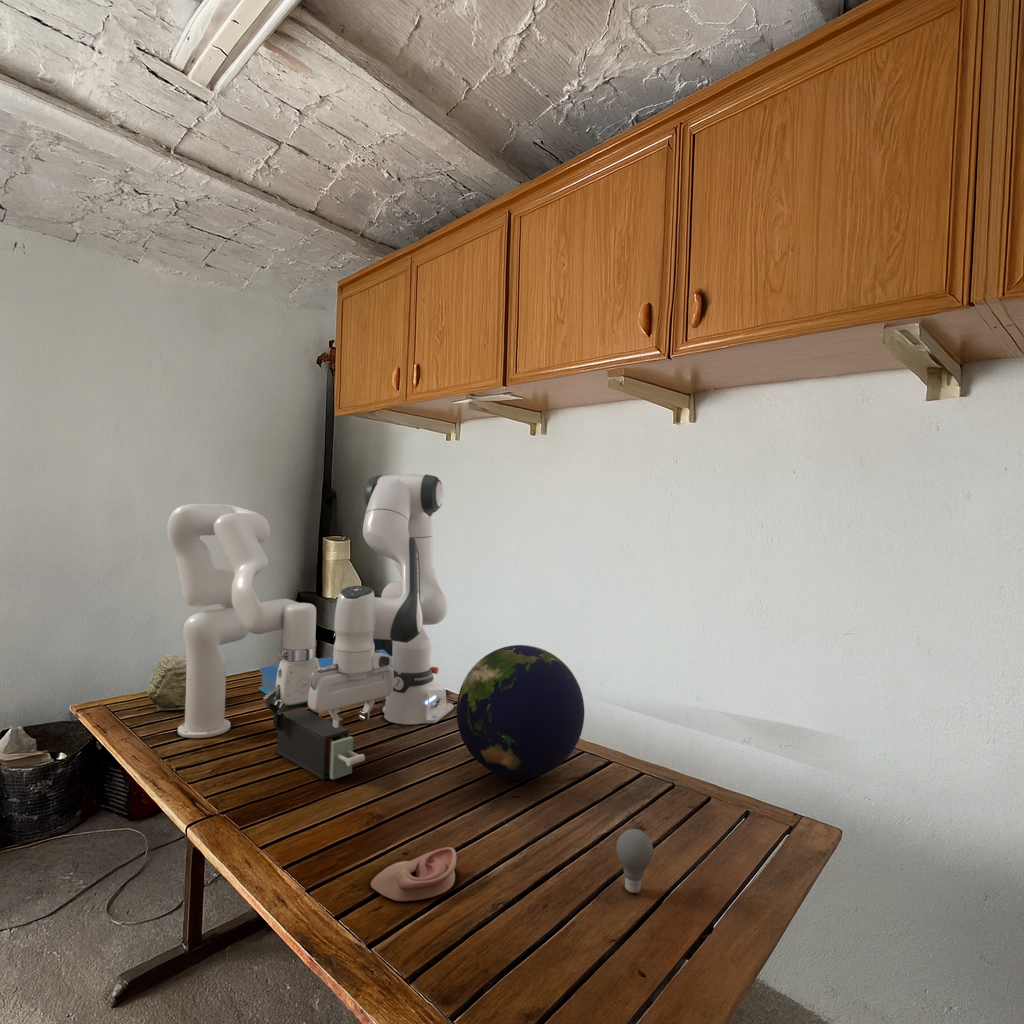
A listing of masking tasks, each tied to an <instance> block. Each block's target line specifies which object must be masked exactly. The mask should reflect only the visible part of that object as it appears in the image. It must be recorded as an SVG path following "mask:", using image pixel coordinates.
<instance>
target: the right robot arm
mask: <svg viewBox="0 0 1024 1024" xmlns="http://www.w3.org/2000/svg"><path fill="white" fill-rule="evenodd" d="M444 494H445V491H444V487H443V484H442V481H441V480H440V479H439V477H438V476H436V475H431V474H418V473H417V474H416V473H402V474H388V475H382V474H380V475H375V476H372V477H370V478H369V479H367V481H366V482H365V483H364V486H363V502H364V505H365V507H366V511H365V515H364V518H363V519H364V520H363V523H362V524H363V525H362V536H363V539H364V542H365V543H366V544H367V545H368V547H370V548H371V550H373V551H374V552H376V553H377V554H379V555H381V556H383V557H386V558H388V559H390V560H393V562H394V565H395V567H396V569H397V570H398V572H399V575H400V578H401V580H398V581H393V582H389V583H388V584H387V585H386V586H385V587H384V588H383V589H382V592H381V595H380V596H381V597H377V596H375V592H374V590H373V588H371V587H370V586H365V585H353V586H347V587H345V588H343V589H341V590H340V591H339V593H338V595H337V600H336V606H335V611H334V612H335V613H334V624H333V625H334V633H335V639H334V643H333V650H332V651H333V652H332V653H333V654H332V657H333V665H329V666H326V667H319V668H317V670H316V671H314V672H313V674H312V675H311V683H310V684H311V685H310V690H309V697H308V702H307V707H308V709H309V708H310V709H311V710H312V711H314V712H317V713H319V714H321V713H324V712H328V714H329V715H330V717H331V719H332V722H333V727H335V728H339V727H343V726H344V718H342V717H340V716H339V715H338V713H340V709H341V708H345V707H348V706H353V705H356V704H360V703H365V704H364V706H363V708H362V710H360V711H359V720H361V721H367V720H370V714H371V713H370V712H371V711H372V709H373V707H374V705H375V700H377V699H380V698H383V697H384V698H385V705H384V706H383V707H382V713H383V714H384V715H383V718H384V719H385V720H386V721H388V722H390V723H393V724H398V725H421V724H436V723H438V722H439V721H440V720H442V719H443V718H444V717H445V716H446V715H448V714H449V713H450V712H451V711H453V710H454V709H455V706H454V704H453V703H451V702H449V701H447V694H448V693H449V689H445V688H444V687H443V686H442V685H441V684H439V682H438V681H436V680H435V679H434V674H435V675H437V674H438V673H439V670H440V669H439V666H434V665H433V666H431V655H432V641H431V638H430V636H429V635H428V633H427V631H426V628H425V626H430V625H433V626H434V625H437V624H439V623H441V622H443V620H444V619H445V618H446V616H447V614H448V611H449V599H448V598H447V596H446V595H445V593H444V592H443V590H442V589H441V586H440V584H439V581H438V577H437V574H436V570H435V564H434V553H433V523H432V516H433V515H434V513H437V511H439V510H440V508H441V507H442V505H443V501H444V497H445V495H444ZM374 640H384V641H385V640H387V641H391V644H392V650H391V651H392V652H391V655H390V654H389V655H390V656H389V655H387V654H384V653H381V652H377V651H376V650H375V649H376V648H375V641H374ZM391 665H392V667H391ZM316 672H318V673H316Z"/></svg>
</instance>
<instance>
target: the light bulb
mask: <svg viewBox="0 0 1024 1024" xmlns="http://www.w3.org/2000/svg"><path fill="white" fill-rule="evenodd" d="M615 849H616V854H617V857H618V859H619V861H620V863H621V865H622V867H623V873H624V874H623V875H624V876H625V878H624V888H625V890H627V891H628V892H630V893H634V894H635V893H639V892H640V891H641V889H642V887H641V886H642V879H643V877H644V875H645V871H646V868H647V867H648V866H649V864H650V863H651V861H652V859H653V855H654V847H653V843H652V841H651V838H649V836H648V835H647V834H646V833H645V832H643V831H642V830H641V829H636V828H629V829H627V830H625V831H623V832H622V833H621V834H620V835H619V837H618V839H617V841H616V847H615Z"/></svg>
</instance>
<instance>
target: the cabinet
mask: <svg viewBox="0 0 1024 1024" xmlns="http://www.w3.org/2000/svg"><path fill="white" fill-rule="evenodd" d="M282 713H283V714H284V729H283V730H282V731H280V730H278V729H277V734H276V735H277V736H276V737H277V739H276V754H278V755H279V756H281V757H283V758H285V759H286V760H288V761H290V762H291V763H293V764H295V765H297V766H298V767H300V768H301V769H303V770H305V771H306V772H308V773H310V774H312V775H313V776H315V777H316V778H319V779H320V780H321V781H325V780H328V779H331V778H330V774H328V773H326V764H327V739H329V738H333V737H336V736H340V735H344V736H345V738H346V737H349V734H350V732H349V729H348V728H346V727H343V726H342V727H339V728H335V727H333V721H332V720H329V719H326V718H325V717H322V716H320V715H319V716H318V715H316V714H314V713H312V712H310V711H309V710H307V709H305V708H303V707H298V708H294V709H291V710H285V711H282Z"/></svg>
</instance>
